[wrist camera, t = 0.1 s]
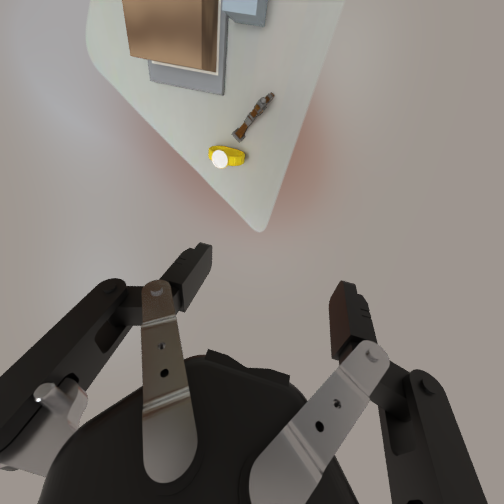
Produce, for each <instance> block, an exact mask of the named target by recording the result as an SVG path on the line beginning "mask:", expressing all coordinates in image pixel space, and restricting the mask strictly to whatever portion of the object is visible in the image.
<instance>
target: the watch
mask: <svg viewBox="0 0 504 504" xmlns="http://www.w3.org/2000/svg"><path fill="white" fill-rule="evenodd" d="M208 156H209V159H210V160H212V162H213V164H214V165H215V166H216V167H217V168H220V169H223V168H225V167H226V166H228V165H229V166H238V165H242V164H243V163H244V159H245V154H244V152H242V151H240V150H237V149H233V148H229V147H226V146H212V147H210V148H209V155H208Z"/></svg>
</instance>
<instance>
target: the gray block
mask: <svg viewBox="0 0 504 504" xmlns="http://www.w3.org/2000/svg"><path fill="white" fill-rule="evenodd" d="M267 2H268V0H223V4H222V11H224V12H225V13H226V14H227V15H228V16H229V17H230V18H231V19H232V20H233V21H234V22H237V23H243V24H249V25H255V26H261V27H264V26H265V18H266V10H267Z"/></svg>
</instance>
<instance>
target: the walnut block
mask: <svg viewBox="0 0 504 504" xmlns="http://www.w3.org/2000/svg"><path fill="white" fill-rule="evenodd" d="M218 1H219V0H122V3H123V10H124V16H125V23H126V29H127V36H128V42H129V49H130V55H131V56H133V57H138V58H143V59H147V60H152V61H157V62H162V63H168V64H173V65H178V66H184V67H189V68H194V69H200V70H205V71H210V72H216V62H217V32H218Z"/></svg>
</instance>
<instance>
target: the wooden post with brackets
mask: <svg viewBox="0 0 504 504" xmlns="http://www.w3.org/2000/svg"><path fill="white" fill-rule="evenodd" d="M273 97H274V95H273V93H272V92H271V93H270V94H268V95H267V96H266V97H262V98H261V99H260V100H258V102H257V104H256V105H255V106H254V109H253V111H252V112H250V113H249V114H248V116H247V118H246V119H245V121H244V123H243V125H242V126H241V127H240V128H238V129H236V130H235V131H234V132H233V133H232V135H233V136H234V138H235V139H236V140H237V141H238V142H239V143H240V142H241V141H242V140H243V139H244V137H245V135H244V133H245V131H246V129H247V128H248V126H249V125H250V124H251V123H252V121H253V120H254V119H255V118H256V117H257V116H256V115H260V114H261V113H262V112H263V110H265V109H266V108H267V107H266V105H267V103H268V102H270V101H271V99H272V98H273Z"/></svg>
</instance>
